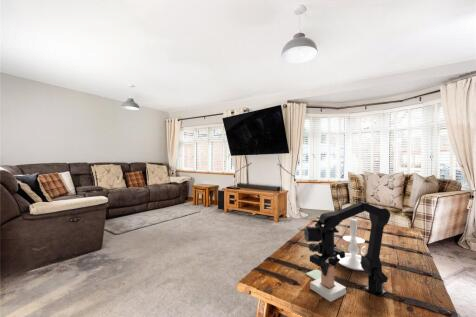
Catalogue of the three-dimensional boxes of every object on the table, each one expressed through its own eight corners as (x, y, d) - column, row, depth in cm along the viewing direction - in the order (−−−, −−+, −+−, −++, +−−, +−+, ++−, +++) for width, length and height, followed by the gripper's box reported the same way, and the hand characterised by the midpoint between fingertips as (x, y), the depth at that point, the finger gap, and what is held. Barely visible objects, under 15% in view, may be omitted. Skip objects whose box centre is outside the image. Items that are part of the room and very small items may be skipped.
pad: (316, 269, 117) (316, 269, 117) (331, 277, 109) (331, 276, 109) (305, 274, 113) (305, 273, 113) (319, 282, 105) (319, 281, 105)
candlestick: (384, 266, 122) (384, 218, 122) (363, 279, 108) (363, 225, 108) (348, 253, 139) (348, 211, 139) (327, 263, 125) (327, 216, 125)
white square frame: (325, 281, 106) (325, 275, 106) (345, 293, 96) (345, 287, 96) (310, 288, 100) (310, 282, 100) (330, 301, 91) (330, 294, 91)
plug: (326, 281, 101) (326, 262, 101) (334, 285, 97) (334, 266, 98) (321, 283, 99) (321, 264, 99) (328, 288, 95) (328, 268, 96)
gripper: (325, 232, 110) (325, 262, 110) (300, 239, 101) (300, 271, 100) (345, 239, 100) (345, 272, 100) (319, 247, 91) (319, 283, 91)
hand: (327, 274), depth 98 cm, fingers closed on plug, 4 cm apart
